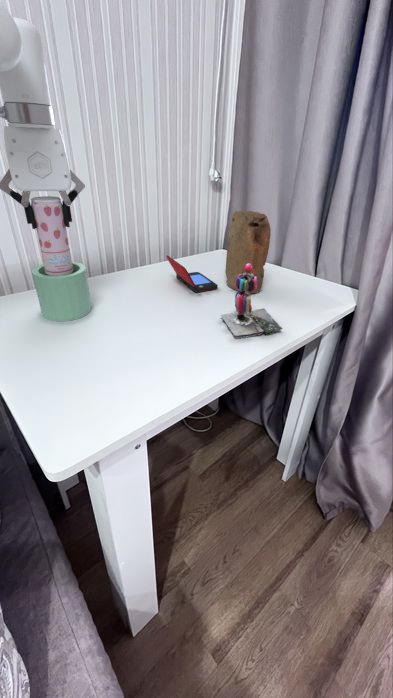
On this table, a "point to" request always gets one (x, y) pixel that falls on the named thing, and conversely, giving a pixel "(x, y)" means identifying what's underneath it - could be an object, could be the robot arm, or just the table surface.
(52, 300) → the jar
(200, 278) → the handheld console
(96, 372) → the table surface
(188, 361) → the table surface
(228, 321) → the statue
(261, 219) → the block
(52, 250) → the beverage can
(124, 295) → the table surface
